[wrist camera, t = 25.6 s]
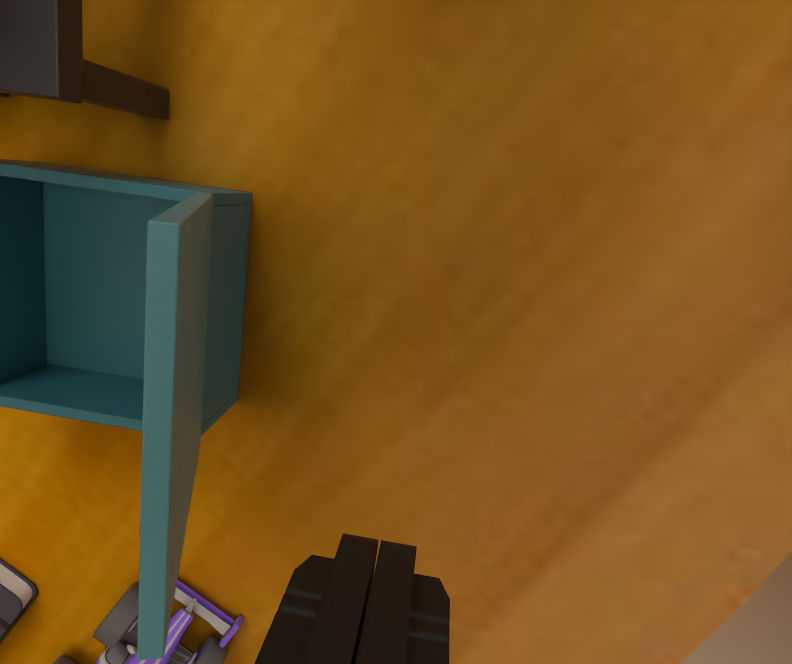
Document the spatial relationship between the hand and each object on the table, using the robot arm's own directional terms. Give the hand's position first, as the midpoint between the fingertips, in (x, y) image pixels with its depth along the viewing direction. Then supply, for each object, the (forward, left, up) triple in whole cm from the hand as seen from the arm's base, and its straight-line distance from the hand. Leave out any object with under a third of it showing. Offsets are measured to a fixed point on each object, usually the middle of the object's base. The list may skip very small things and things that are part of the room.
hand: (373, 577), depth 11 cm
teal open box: (0, -17, -21) cm, 27 cm away
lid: (0, -9, -9) cm, 12 cm away
